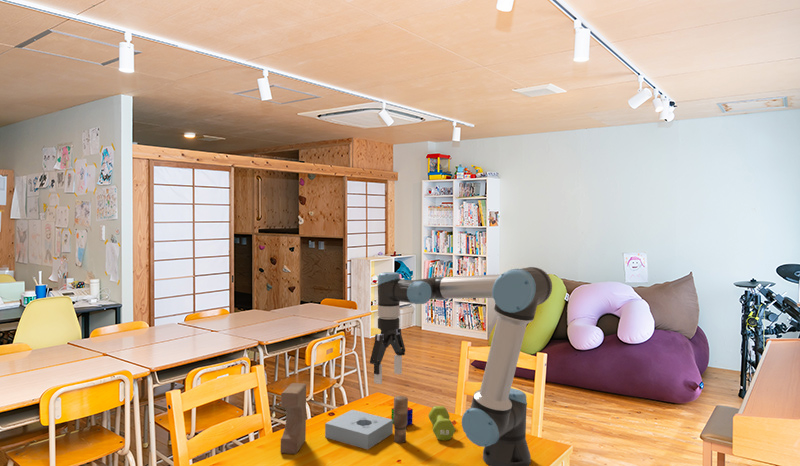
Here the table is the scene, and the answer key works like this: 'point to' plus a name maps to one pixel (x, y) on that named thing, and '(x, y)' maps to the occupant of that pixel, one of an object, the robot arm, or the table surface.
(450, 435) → the dumbbell
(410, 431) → the table surface
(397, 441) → the walnut peg
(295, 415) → the decorative block
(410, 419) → the puzzle toy
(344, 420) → the socket board
